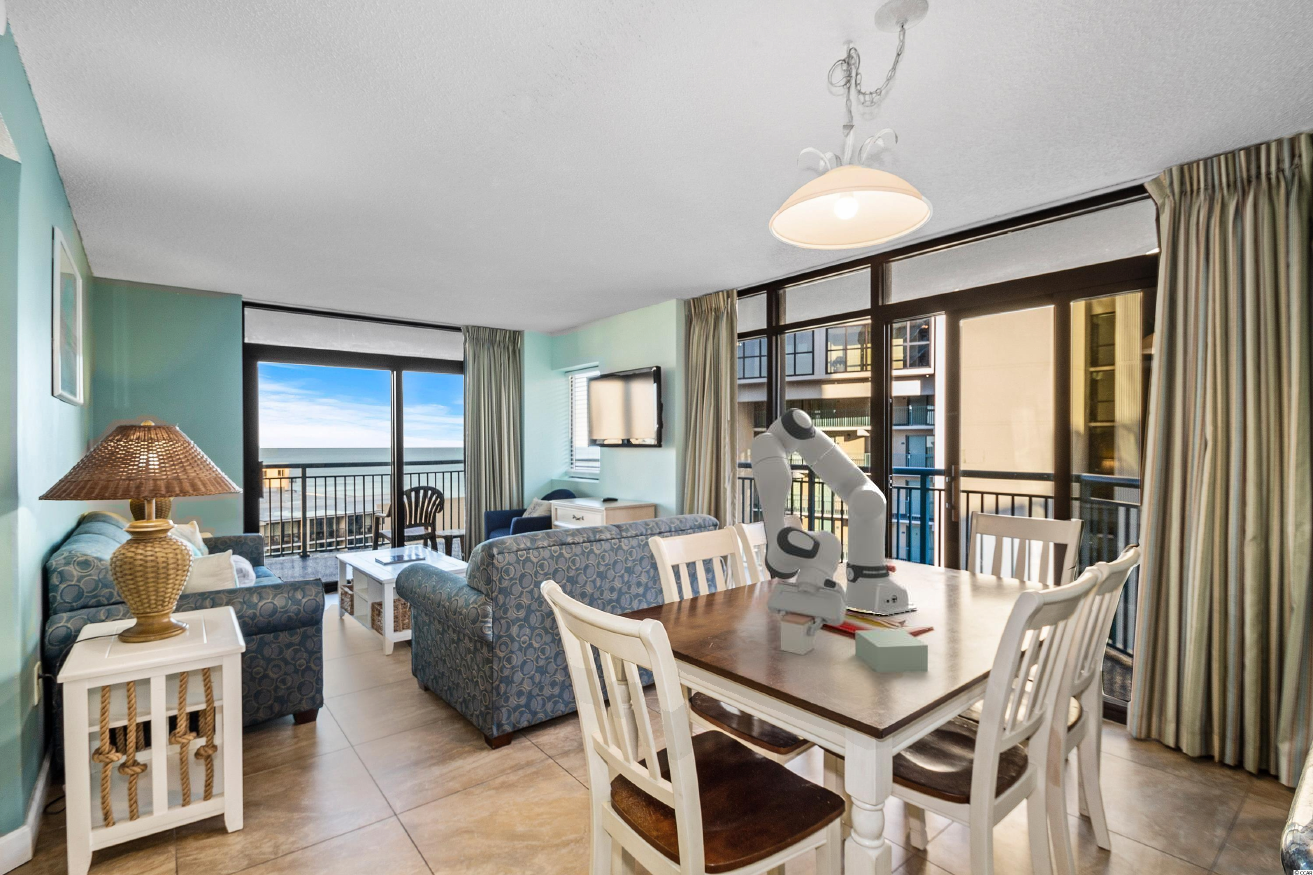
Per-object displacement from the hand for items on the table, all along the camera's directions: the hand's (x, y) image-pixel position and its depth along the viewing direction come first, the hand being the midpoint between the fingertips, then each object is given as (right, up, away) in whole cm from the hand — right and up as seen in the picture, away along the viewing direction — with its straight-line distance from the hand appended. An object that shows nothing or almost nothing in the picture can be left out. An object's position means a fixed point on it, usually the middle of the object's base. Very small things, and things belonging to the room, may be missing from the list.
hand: (796, 632), depth 156 cm
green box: (+21, -5, -8) cm, 23 cm away
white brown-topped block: (0, -4, 0) cm, 4 cm away
